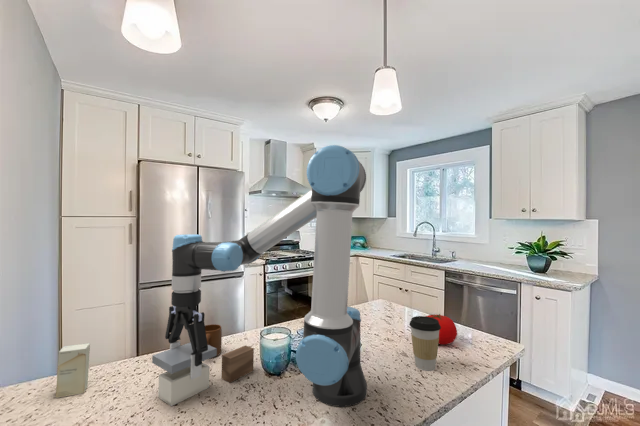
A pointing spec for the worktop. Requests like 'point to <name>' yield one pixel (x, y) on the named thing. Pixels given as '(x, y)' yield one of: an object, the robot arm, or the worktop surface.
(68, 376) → the skincare box
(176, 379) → the white open box
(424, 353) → the coffee cup
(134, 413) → the worktop surface
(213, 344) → the mug
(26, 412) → the worktop surface
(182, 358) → the tile lid
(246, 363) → the block
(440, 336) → the tomato
